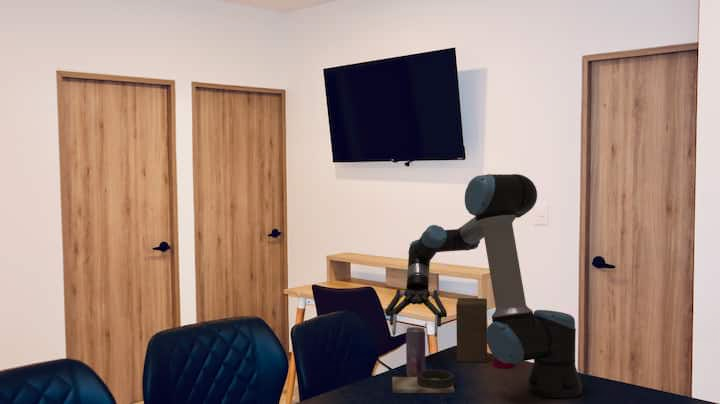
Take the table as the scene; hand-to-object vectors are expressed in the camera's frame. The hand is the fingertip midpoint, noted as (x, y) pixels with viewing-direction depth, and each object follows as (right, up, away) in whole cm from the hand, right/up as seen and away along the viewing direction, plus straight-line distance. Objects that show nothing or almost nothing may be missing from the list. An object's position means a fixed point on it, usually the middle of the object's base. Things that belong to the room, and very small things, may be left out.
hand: (414, 333), depth 218 cm
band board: (+1, -13, -15) cm, 20 cm away
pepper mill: (+30, -12, +5) cm, 32 cm away
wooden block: (+21, -11, +14) cm, 28 cm away
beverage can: (0, -13, -5) cm, 13 cm away
